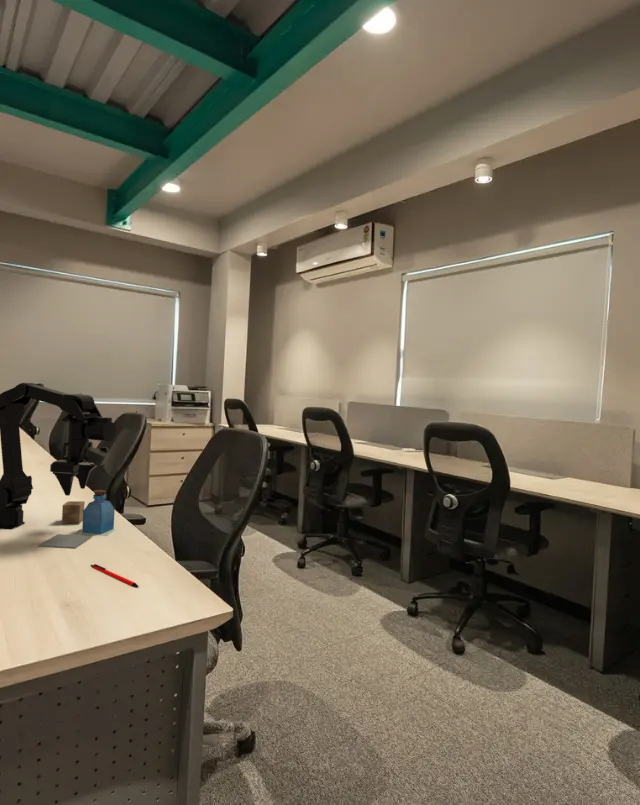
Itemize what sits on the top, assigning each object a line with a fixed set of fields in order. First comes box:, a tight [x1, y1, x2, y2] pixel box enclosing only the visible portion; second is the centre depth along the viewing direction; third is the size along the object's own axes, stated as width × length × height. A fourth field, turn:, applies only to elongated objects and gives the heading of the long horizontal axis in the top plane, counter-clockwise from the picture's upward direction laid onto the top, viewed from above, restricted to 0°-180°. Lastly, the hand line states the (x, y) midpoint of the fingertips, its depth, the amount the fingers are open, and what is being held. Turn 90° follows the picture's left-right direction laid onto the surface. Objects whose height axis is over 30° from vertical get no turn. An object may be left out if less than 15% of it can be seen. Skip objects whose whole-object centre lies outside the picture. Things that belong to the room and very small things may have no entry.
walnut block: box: [61, 500, 86, 525], centre depth 154 cm, size 5×5×6 cm
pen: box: [90, 563, 139, 588], centre depth 115 cm, size 1×19×1 cm, turn 55°
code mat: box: [76, 529, 115, 537], centre depth 147 cm, size 9×9×1 cm
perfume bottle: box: [81, 489, 115, 535], centre depth 147 cm, size 6×6×12 cm
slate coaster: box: [37, 533, 93, 549], centre depth 136 cm, size 10×10×1 cm
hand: (75, 491), depth 141 cm, fingers open, 9 cm apart
